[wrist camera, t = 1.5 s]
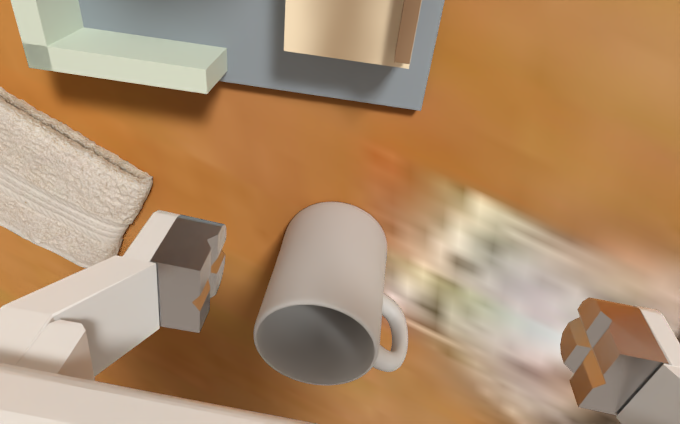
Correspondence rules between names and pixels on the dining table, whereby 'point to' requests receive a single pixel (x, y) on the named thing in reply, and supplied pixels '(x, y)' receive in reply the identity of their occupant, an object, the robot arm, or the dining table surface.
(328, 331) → the mug
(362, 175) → the dining table surface
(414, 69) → the dock
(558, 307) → the dining table surface
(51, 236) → the washcloth
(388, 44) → the beige box with tab
